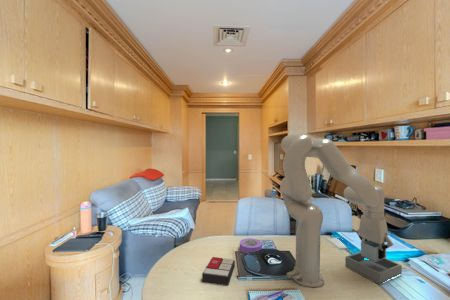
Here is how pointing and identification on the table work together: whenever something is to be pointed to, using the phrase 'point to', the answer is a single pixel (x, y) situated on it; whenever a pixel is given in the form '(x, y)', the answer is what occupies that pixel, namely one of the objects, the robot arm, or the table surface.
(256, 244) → the masking tape
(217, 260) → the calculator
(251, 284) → the table surface
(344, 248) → the hard drive
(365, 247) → the grey block
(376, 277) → the grey crate
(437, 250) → the table surface
